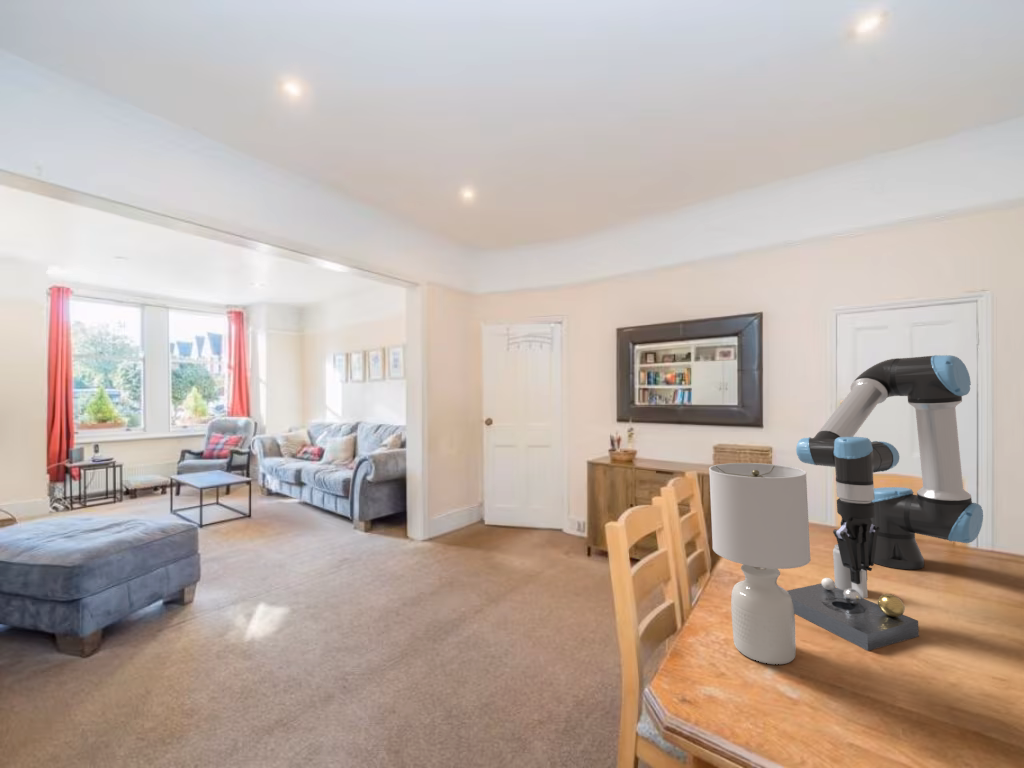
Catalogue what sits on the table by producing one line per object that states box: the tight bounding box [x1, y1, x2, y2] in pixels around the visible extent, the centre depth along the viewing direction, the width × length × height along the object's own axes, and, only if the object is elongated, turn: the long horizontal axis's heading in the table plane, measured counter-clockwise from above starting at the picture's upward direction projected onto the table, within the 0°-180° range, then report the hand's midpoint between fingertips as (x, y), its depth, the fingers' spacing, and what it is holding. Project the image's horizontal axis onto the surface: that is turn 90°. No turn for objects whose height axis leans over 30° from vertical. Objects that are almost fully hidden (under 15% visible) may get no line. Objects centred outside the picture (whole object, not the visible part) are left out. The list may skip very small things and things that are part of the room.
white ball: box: [820, 577, 836, 590], centre depth 118 cm, size 3×3×3 cm
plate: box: [786, 583, 920, 652], centre depth 110 cm, size 16×22×4 cm
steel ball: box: [843, 588, 861, 604], centre depth 111 cm, size 4×4×4 cm
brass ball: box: [877, 593, 906, 617], centre depth 104 cm, size 5×5×5 cm
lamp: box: [708, 462, 811, 666], centre depth 99 cm, size 19×19×39 cm
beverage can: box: [832, 543, 852, 590], centre depth 125 cm, size 6×6×12 cm
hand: (859, 595), depth 111 cm, fingers closed
